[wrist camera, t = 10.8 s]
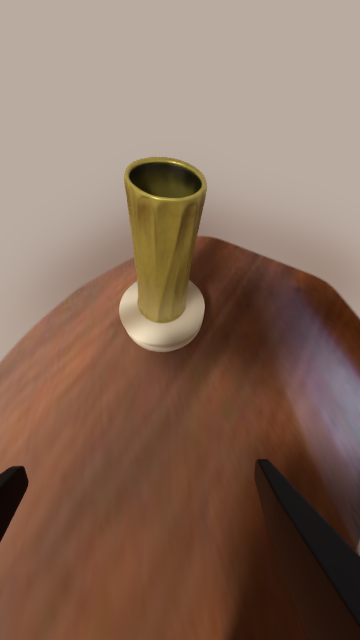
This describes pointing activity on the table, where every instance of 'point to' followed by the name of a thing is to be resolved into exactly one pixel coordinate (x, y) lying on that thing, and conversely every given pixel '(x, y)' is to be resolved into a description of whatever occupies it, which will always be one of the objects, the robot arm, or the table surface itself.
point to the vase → (163, 231)
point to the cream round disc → (162, 334)
